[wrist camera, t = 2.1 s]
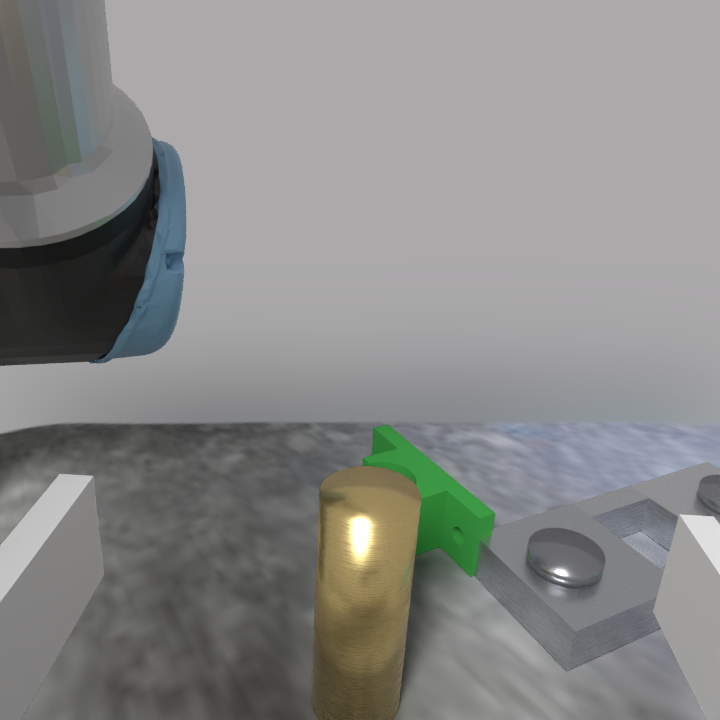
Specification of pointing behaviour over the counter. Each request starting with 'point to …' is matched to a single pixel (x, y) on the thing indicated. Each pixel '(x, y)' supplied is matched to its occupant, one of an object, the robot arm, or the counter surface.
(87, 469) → the counter surface
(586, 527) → the plate with dome knobs
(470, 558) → the pipe clamp
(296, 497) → the counter surface
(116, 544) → the counter surface
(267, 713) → the counter surface
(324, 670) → the link pin
